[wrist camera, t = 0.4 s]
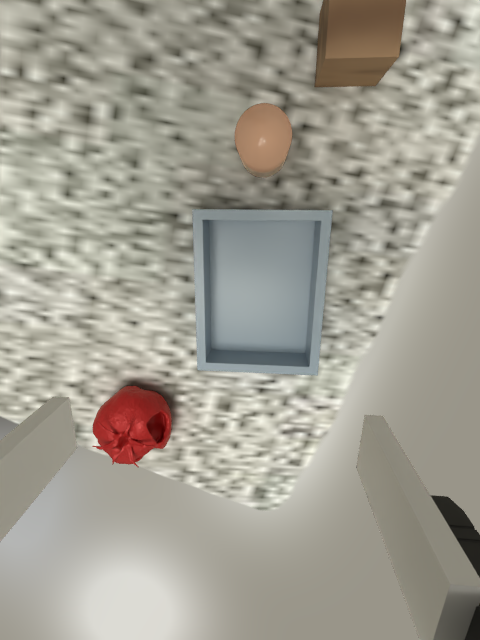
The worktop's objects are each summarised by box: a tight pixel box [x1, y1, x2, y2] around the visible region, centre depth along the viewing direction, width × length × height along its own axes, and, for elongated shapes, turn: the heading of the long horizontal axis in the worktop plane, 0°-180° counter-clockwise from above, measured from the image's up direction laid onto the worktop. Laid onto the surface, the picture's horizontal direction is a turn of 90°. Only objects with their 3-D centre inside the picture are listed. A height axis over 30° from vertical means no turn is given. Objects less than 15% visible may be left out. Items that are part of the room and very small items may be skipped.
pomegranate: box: [92, 386, 172, 467], centre depth 41 cm, size 10×10×9 cm
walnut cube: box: [315, 0, 406, 87], centre depth 29 cm, size 6×6×6 cm
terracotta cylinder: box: [235, 103, 292, 178], centre depth 31 cm, size 5×5×7 cm
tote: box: [192, 209, 333, 375], centre depth 37 cm, size 18×14×5 cm
